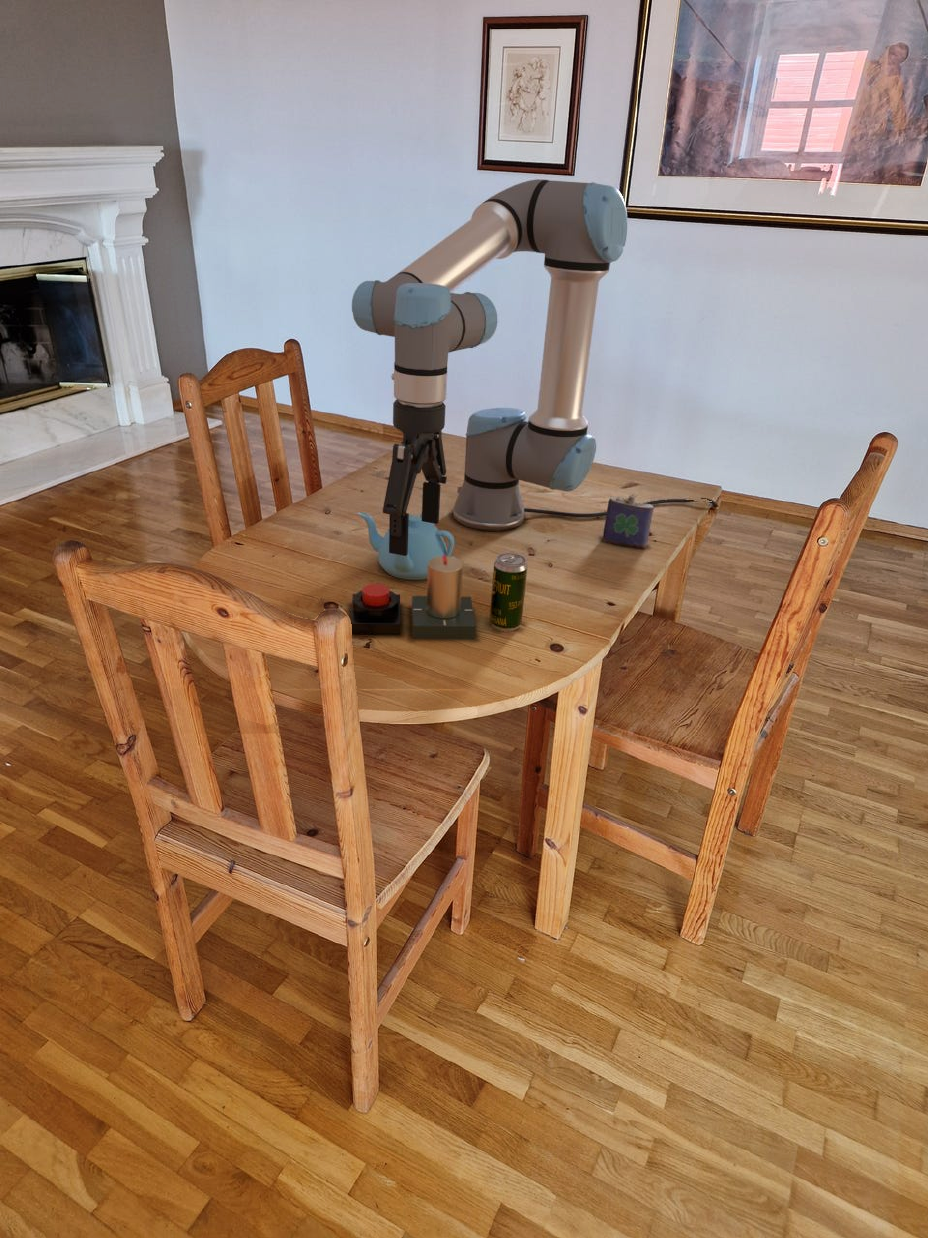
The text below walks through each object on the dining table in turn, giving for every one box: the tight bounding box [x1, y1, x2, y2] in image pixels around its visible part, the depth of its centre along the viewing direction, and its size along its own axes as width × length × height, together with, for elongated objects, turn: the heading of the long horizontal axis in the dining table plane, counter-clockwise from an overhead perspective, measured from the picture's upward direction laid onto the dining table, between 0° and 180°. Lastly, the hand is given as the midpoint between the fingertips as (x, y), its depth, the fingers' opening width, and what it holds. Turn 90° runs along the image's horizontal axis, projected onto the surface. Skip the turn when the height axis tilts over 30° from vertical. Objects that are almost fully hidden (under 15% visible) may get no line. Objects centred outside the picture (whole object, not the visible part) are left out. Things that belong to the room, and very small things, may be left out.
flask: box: [602, 493, 655, 549], centre depth 165 cm, size 9×3×11 cm, turn 68°
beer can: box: [489, 552, 528, 632], centre depth 132 cm, size 5×5×12 cm
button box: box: [349, 590, 402, 636], centre depth 133 cm, size 8×10×4 cm
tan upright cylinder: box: [426, 555, 464, 619], centre depth 131 cm, size 6×6×9 cm
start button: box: [361, 583, 391, 606], centre depth 132 cm, size 4×4×2 cm
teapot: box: [358, 511, 456, 581], centre depth 149 cm, size 15×15×10 cm
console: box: [411, 595, 477, 640], centre depth 134 cm, size 10×10×3 cm
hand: (414, 537), depth 126 cm, fingers open, 13 cm apart
